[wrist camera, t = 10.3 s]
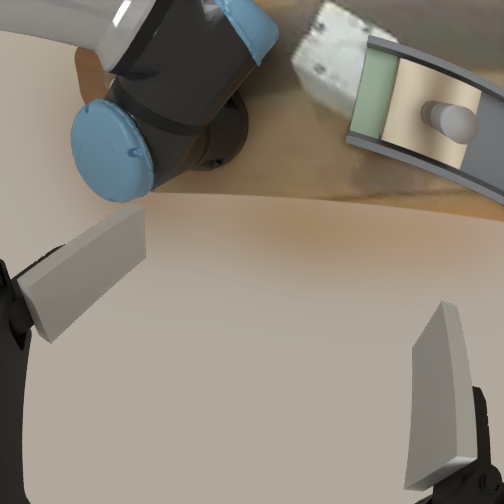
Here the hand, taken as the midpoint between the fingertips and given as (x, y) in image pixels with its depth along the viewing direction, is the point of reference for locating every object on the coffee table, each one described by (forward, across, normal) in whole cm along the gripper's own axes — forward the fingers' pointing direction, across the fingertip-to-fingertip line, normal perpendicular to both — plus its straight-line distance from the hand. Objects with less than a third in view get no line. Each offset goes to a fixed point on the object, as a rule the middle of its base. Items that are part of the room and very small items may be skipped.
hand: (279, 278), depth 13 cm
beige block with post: (+34, +9, +8) cm, 36 cm away
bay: (+35, +15, +7) cm, 39 cm away
